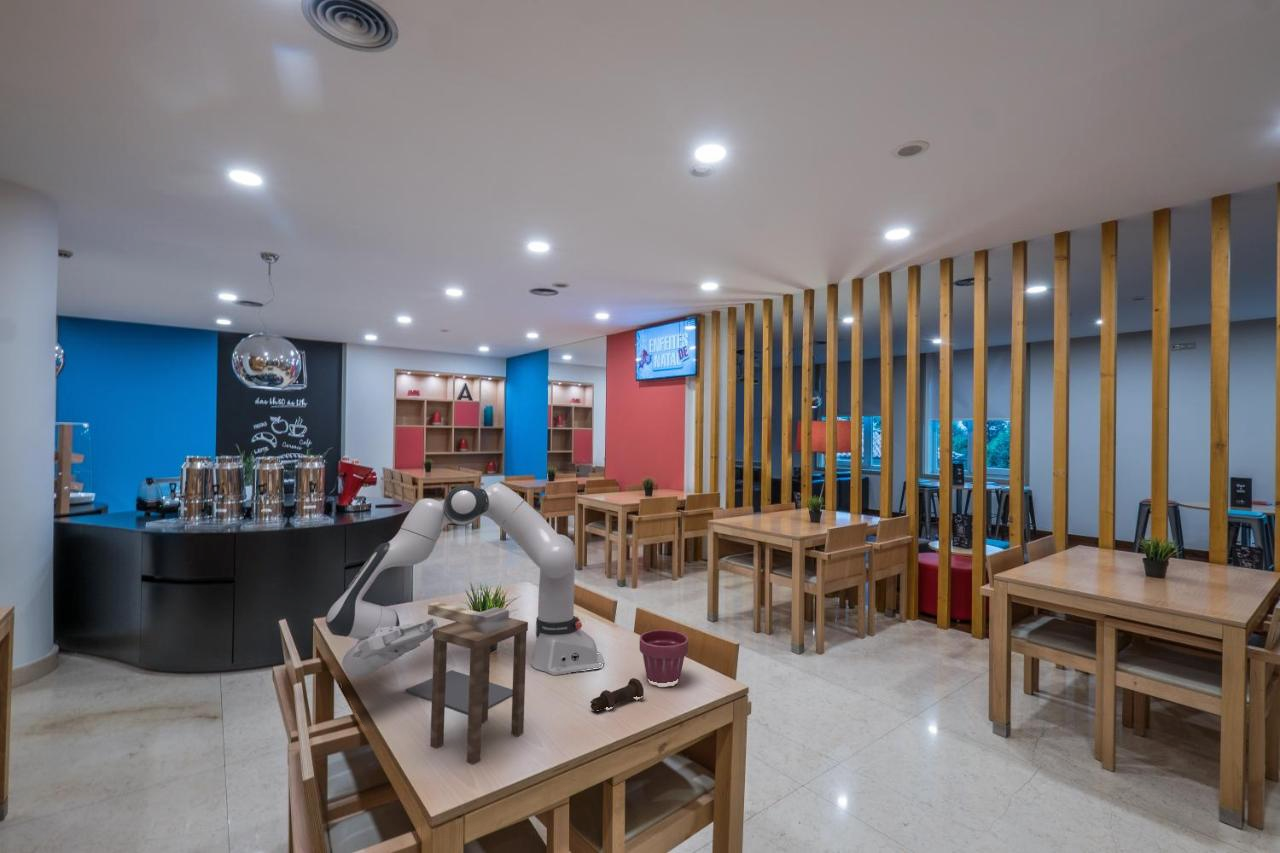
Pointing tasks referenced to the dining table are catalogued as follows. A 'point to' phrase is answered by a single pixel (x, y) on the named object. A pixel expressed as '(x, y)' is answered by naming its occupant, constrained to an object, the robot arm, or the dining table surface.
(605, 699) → the bolt
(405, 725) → the dining table surface
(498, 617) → the hammer
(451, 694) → the mat
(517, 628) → the stool
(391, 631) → the robot arm
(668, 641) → the plant pot
